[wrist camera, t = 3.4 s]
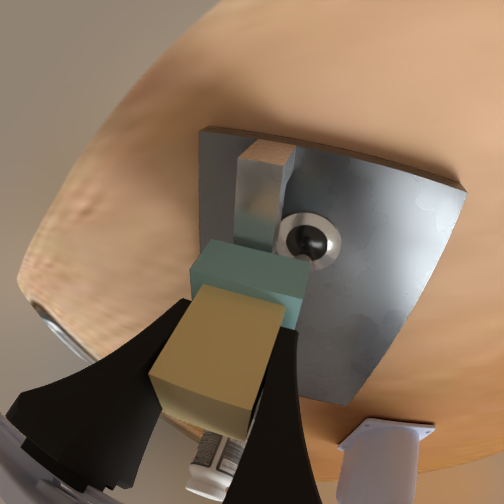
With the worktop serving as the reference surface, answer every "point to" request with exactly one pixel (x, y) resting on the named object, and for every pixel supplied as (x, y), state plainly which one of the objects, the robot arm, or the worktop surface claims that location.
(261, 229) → the rail
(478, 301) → the worktop surface
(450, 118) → the worktop surface
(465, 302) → the worktop surface
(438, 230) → the hole plate
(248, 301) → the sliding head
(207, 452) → the pill bottle
